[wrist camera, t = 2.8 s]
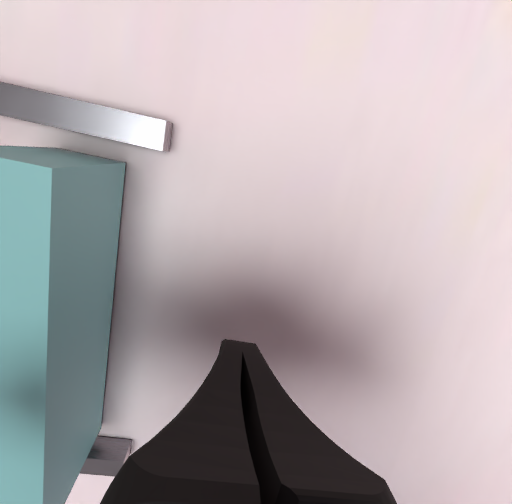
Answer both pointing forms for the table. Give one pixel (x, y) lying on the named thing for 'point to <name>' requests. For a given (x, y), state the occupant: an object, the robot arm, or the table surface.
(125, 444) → the vise
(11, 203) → the block
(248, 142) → the table surface
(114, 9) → the table surface
